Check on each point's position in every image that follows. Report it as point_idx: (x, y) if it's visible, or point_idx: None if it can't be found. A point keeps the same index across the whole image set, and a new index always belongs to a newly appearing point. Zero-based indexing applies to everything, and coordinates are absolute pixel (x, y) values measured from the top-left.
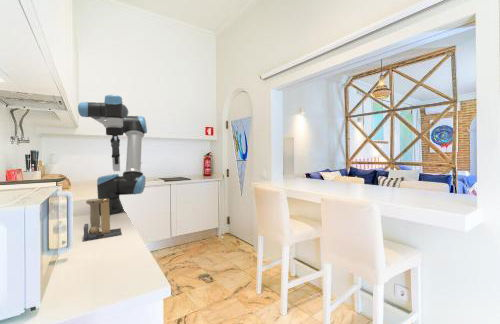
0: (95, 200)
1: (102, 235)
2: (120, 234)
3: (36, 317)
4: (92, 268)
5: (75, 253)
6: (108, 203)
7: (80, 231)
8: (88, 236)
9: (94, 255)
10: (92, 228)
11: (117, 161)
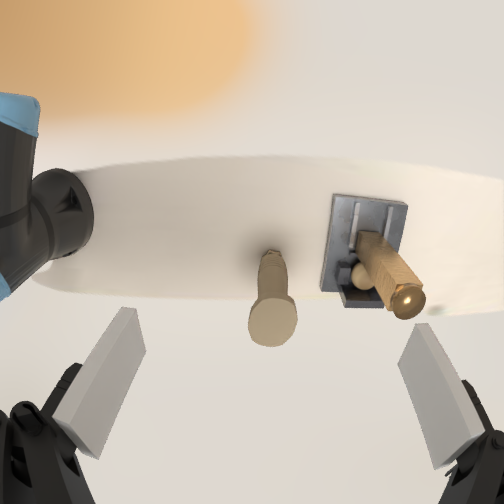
0: (292, 320)
1: None
2: (400, 207)
3: None
4: (494, 270)
5: None
6: (420, 283)
7: (253, 293)
8: None
9: (455, 266)
10: (373, 285)
11: (474, 405)
